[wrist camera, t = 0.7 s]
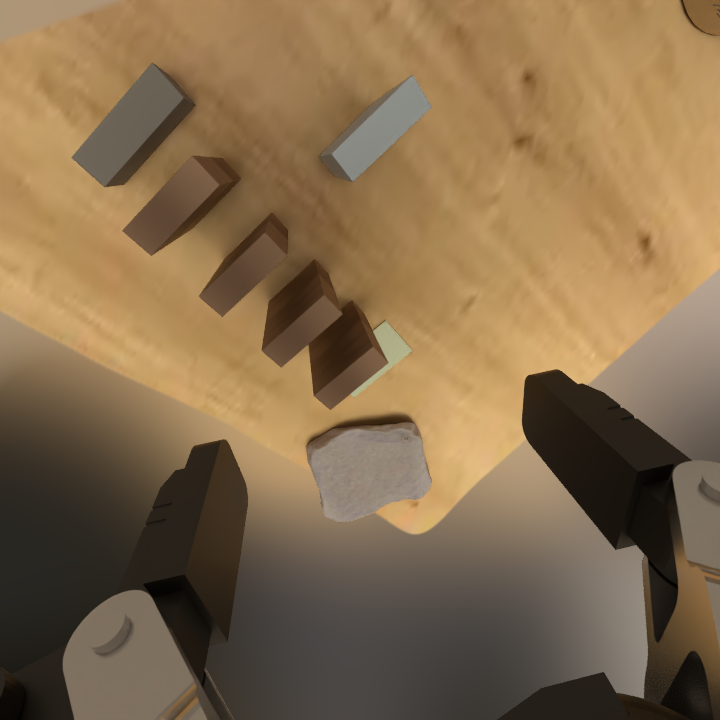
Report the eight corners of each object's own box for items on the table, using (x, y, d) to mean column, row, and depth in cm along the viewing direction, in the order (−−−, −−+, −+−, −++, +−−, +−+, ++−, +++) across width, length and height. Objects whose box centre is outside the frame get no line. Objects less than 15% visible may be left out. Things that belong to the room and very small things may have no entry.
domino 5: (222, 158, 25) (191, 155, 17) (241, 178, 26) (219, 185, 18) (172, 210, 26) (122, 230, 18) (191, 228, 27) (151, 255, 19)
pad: (385, 319, 33) (385, 320, 32) (412, 349, 34) (412, 350, 34) (325, 370, 34) (325, 371, 34) (353, 396, 36) (354, 397, 35)
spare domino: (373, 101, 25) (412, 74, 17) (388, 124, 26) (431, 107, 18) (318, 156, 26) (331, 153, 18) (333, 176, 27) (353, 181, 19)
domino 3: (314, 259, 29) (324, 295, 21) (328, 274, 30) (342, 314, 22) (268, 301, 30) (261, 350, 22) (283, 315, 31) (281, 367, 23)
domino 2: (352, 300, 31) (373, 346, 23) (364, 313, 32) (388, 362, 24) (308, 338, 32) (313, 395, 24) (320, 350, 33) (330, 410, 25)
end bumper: (168, 74, 23) (152, 62, 20) (195, 105, 24) (183, 98, 21) (95, 158, 24) (71, 157, 21) (123, 184, 25) (104, 187, 22)
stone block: (297, 428, 39) (325, 506, 42) (296, 451, 34) (328, 537, 37) (407, 393, 39) (427, 473, 42) (421, 411, 35) (442, 499, 38)
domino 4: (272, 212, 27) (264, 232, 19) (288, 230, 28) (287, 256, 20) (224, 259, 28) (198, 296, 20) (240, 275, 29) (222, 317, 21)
